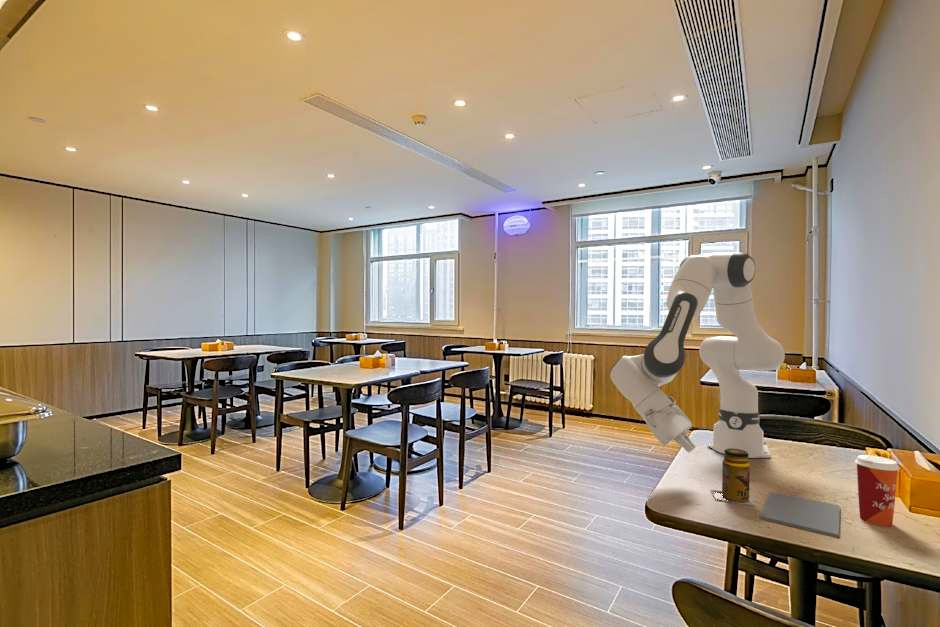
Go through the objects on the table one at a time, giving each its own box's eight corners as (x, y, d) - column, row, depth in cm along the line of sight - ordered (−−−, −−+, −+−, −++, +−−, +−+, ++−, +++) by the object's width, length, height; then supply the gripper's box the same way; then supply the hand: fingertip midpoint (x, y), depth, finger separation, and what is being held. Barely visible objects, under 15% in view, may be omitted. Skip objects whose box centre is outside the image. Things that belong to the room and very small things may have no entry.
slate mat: (771, 493, 124) (771, 491, 124) (839, 508, 115) (839, 505, 115) (760, 518, 108) (760, 516, 108) (838, 537, 99) (838, 534, 99)
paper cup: (886, 531, 103) (887, 466, 103) (846, 517, 110) (847, 456, 110) (906, 525, 106) (907, 462, 106) (866, 512, 113) (867, 452, 113)
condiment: (754, 505, 116) (755, 456, 116) (715, 500, 118) (716, 452, 118) (746, 495, 123) (747, 448, 123) (710, 490, 125) (711, 444, 125)
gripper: (651, 405, 123) (691, 451, 117) (674, 396, 139) (710, 436, 133) (633, 420, 126) (671, 465, 119) (657, 409, 142) (692, 449, 136)
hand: (692, 450), depth 126 cm, fingers closed
